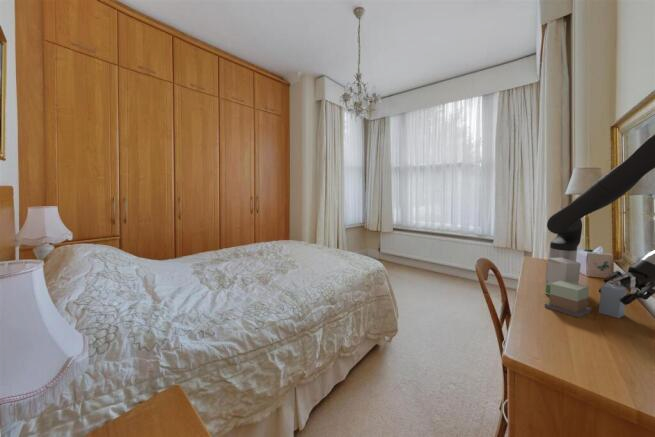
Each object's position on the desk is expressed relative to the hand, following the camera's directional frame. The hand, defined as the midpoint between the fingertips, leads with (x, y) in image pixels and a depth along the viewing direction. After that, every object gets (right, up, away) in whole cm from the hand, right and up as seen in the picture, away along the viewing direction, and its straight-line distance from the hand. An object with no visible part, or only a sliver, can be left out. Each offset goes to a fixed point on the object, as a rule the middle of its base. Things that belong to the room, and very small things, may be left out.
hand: (611, 297), depth 94 cm
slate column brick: (+1, -6, +1) cm, 6 cm away
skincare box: (-4, -5, +16) cm, 17 cm away
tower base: (-11, -6, +5) cm, 13 cm away
